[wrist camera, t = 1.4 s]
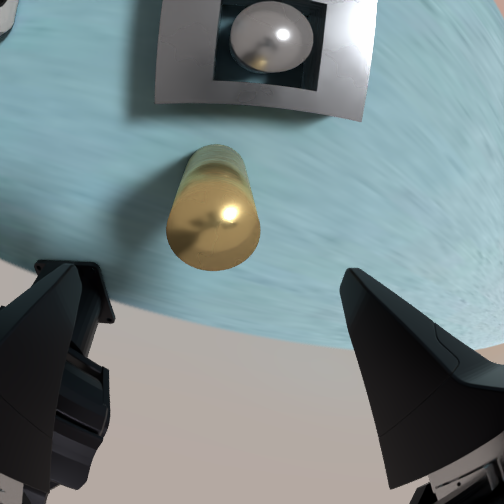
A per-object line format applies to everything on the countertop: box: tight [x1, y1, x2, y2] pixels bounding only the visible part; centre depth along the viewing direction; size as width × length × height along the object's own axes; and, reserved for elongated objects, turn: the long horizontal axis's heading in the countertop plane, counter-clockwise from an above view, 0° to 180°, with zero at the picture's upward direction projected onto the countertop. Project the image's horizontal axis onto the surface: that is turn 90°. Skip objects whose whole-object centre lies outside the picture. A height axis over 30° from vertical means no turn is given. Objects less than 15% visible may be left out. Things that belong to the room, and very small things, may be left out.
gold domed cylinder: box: [166, 144, 260, 271], centre depth 14 cm, size 4×4×7 cm
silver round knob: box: [229, 1, 313, 74], centre depth 11 cm, size 4×4×4 cm
